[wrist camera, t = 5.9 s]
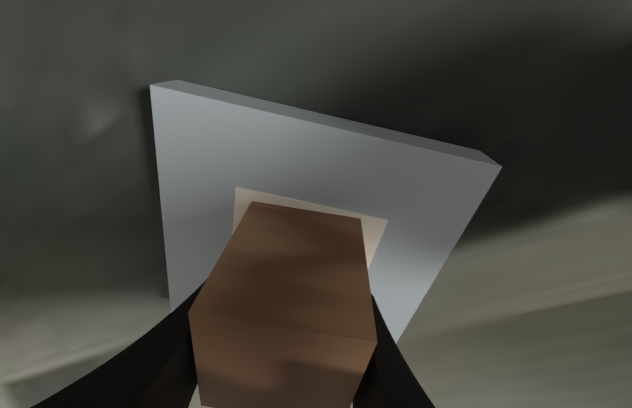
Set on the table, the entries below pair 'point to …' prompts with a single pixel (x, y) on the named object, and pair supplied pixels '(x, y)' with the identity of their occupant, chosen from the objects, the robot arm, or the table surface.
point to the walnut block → (285, 313)
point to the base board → (309, 186)
